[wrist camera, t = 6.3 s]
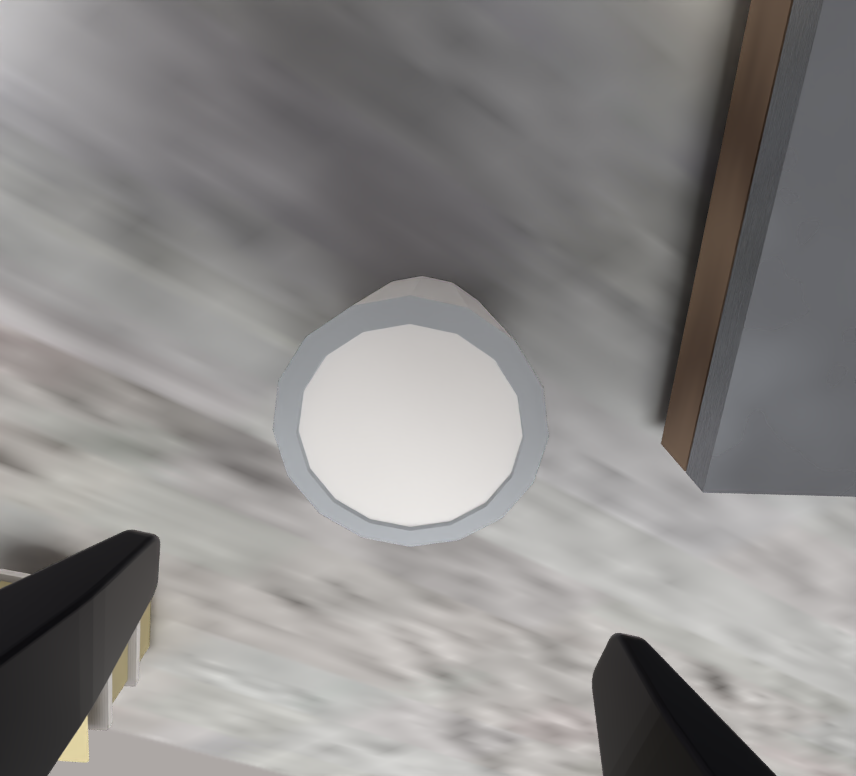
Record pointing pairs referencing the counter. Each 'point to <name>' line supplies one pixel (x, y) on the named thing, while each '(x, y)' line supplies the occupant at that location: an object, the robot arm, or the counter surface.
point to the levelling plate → (792, 285)
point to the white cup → (411, 416)
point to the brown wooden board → (725, 217)
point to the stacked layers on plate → (121, 676)
